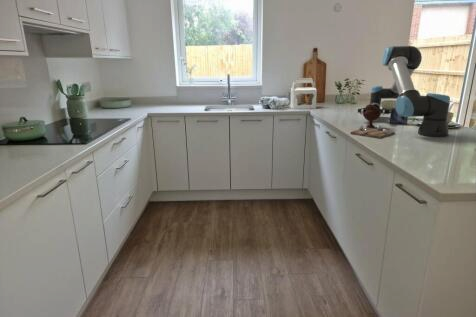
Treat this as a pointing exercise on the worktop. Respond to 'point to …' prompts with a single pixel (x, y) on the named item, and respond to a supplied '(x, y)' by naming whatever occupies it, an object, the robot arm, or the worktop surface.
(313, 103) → the white lantern
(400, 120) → the small box
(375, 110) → the ice cream bowl
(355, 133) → the stub board
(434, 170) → the worktop surface
